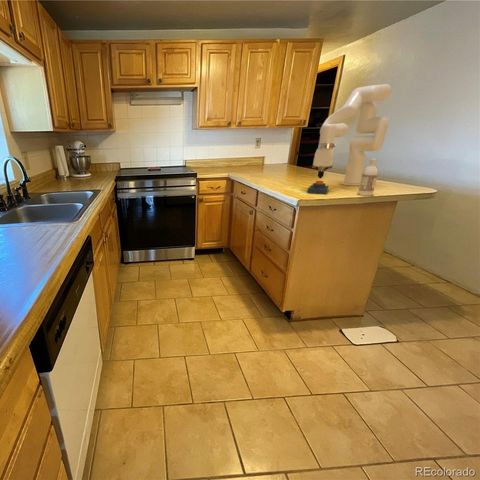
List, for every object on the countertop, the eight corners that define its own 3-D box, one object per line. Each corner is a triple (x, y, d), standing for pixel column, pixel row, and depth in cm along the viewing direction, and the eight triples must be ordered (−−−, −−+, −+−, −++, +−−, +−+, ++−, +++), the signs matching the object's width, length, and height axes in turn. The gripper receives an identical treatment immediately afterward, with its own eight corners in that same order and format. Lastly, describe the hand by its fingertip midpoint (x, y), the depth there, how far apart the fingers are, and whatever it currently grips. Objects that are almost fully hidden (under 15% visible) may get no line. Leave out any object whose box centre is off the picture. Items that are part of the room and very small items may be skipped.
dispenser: (310, 189, 175) (311, 181, 173) (328, 190, 169) (329, 182, 167) (307, 193, 165) (308, 185, 163) (326, 194, 159) (327, 186, 158)
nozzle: (315, 183, 168) (316, 180, 167) (323, 184, 166) (323, 180, 165) (315, 184, 165) (315, 181, 164) (322, 185, 163) (323, 181, 162)
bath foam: (369, 196, 150) (378, 159, 143) (355, 194, 156) (363, 159, 148) (374, 194, 154) (383, 158, 146) (360, 192, 159) (369, 158, 152)
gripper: (340, 146, 156) (334, 177, 163) (312, 146, 164) (307, 176, 171) (340, 146, 150) (333, 179, 157) (310, 147, 159) (305, 178, 165)
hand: (320, 177), depth 164 cm, fingers closed
